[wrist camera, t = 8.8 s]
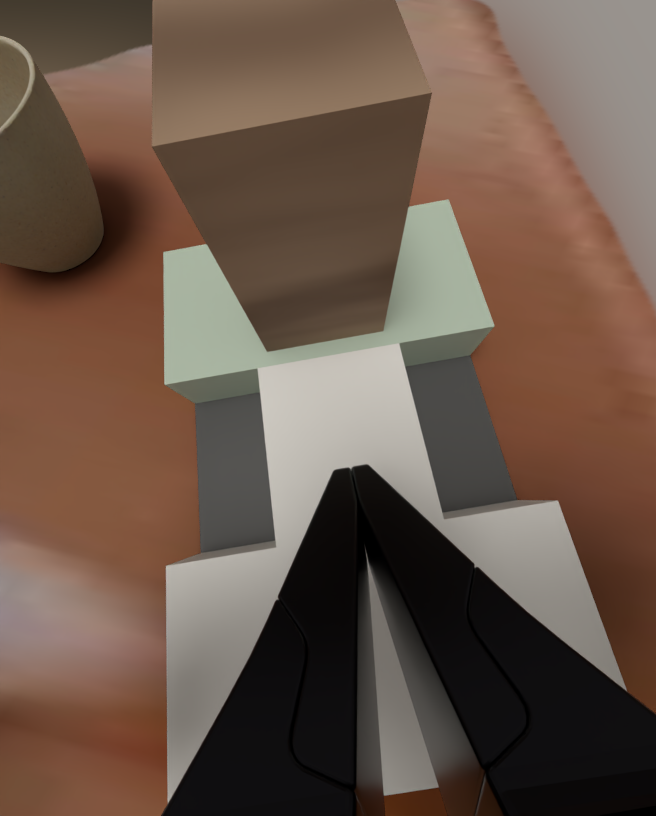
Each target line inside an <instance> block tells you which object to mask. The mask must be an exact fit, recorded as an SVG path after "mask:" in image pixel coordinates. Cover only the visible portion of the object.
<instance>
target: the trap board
mask: <svg viewBox="0 0 656 816" xmlns="http://www.w3.org/2000/svg"><path fill="white" fill-rule="evenodd" d="M493 328H494V323H493V321H492V318H491V315H490V312H489V310H488V307H487V304H486V301H485V299H484V296H483V293H482V290H481V287H480V285H479V282H478V279H477V276H476V274H475V271H474V268H473V265H472V263H471V260H470V257H469V254H468V252H467V249H466V246H465V243H464V241H463V238H462V235H461V232H460V230H459V227H458V224H457V221H456V219H455V216H454V213H453V210H452V208H451V205H450V202H449V200H443V201H438V202H432V203H427V204H421V205H416V206H411V207H408V212H407V217H406V222H405V227H404V232H403V237H402V241H401V246H400V251H399V256H398V261H397V266H396V271H395V276H394V281H393V286H392V291H391V295H390V300H389V305H388V310H387V315H386V320H385V325H384V330H383V331H382V332H376V333H371V334H365V335H359V336H354V337H348V338H343V339H337V340H332V341H326V342H320V343H315V344H309V345H304V346H298V347H293V348H287V349H281V350H276V351H270V352H267V351H266V349H265V347H264V346H263V344H262V342H261V340H260V338H259V337H258V335H257V333H256V331H255V330H254V328H253V326H252V324H251V322H250V321H249V319H248V317H247V315H246V313H245V312H244V310H243V308H242V306H241V305H240V303H239V301H238V299H237V297H236V296H235V294H234V292H233V290H232V289H231V287H230V285H229V283H228V281H227V280H226V278H225V276H224V274H223V272H222V271H221V269H220V267H219V265H218V264H217V262H216V260H215V258H214V256H213V255H212V253H211V251H210V249H209V248H208V246H207V244H205V245H200V246H194V247H189V248H184V249H178V250H173V251H167V252H164V377H165V385H166V386H167V387H169V388H171V389H172V390H174V391H175V392H177V393H179V394H180V395H182V396H184V397H185V398H187V399H189V400H190V401H192V402H193V403H195V412H196V438H197V465H198V491H199V517H200V544H201V553H200V554H197V555H194V556H192V557H189V558H186V559H183V560H181V561H178V562H175V563H173V564H170V565H167V566H166V640H167V771H168V803H169V801H170V799H171V797H172V795H173V794H174V792H175V790H176V788H177V787H178V785H179V783H180V781H181V779H182V778H183V776H184V774H185V772H186V770H187V769H188V767H189V765H190V763H191V762H192V760H193V758H194V756H195V754H196V753H197V751H198V749H199V747H200V746H201V744H202V742H203V740H204V738H205V737H206V735H207V733H208V731H209V730H210V728H211V726H212V724H213V722H214V721H215V719H216V717H217V715H218V713H219V712H220V710H221V708H222V706H223V705H224V703H225V701H226V699H227V697H228V696H229V694H230V692H231V690H232V688H233V686H234V684H235V683H236V681H237V679H238V677H239V675H240V673H241V671H242V669H243V668H244V666H245V664H246V662H247V660H248V658H249V656H250V654H251V652H252V650H253V648H254V646H255V644H256V642H257V640H258V638H259V635H260V633H261V631H262V629H263V627H264V625H265V623H266V621H267V618H268V616H269V614H270V612H271V609H272V607H273V605H274V602H275V601H276V600H279V599H278V594H279V592H280V589H281V587H282V585H283V583H284V580H285V578H286V576H287V574H288V571H289V569H290V567H291V565H292V562H293V560H294V558H295V556H296V553H297V551H298V549H299V547H300V544H301V542H302V540H303V537H304V535H305V533H306V531H307V528H308V526H309V524H310V522H311V519H312V517H313V515H314V513H315V510H316V508H317V506H318V504H319V501H320V499H321V497H322V495H323V492H324V490H325V488H326V486H327V483H328V481H329V479H330V476H331V474H332V472H333V471H334V470H335V469H340V468H346V467H349V468H350V469H351V468H352V467H353V466H357V465H363V464H368V465H370V466H371V467H372V468H373V469H374V470H375V471H376V472H377V473H378V474H379V475H380V476H381V477H382V478H383V479H385V480H386V481H387V482H388V483H389V484H390V485H391V486H392V487H393V488H394V489H395V490H396V491H397V492H398V493H399V494H401V495H402V496H403V497H404V498H405V499H406V500H407V501H408V502H409V503H410V504H411V505H412V506H413V507H414V508H416V509H417V510H418V511H419V512H420V513H421V514H422V515H423V516H424V517H425V518H426V519H427V520H428V521H429V522H430V523H432V524H433V525H434V526H435V527H436V528H437V529H438V530H439V531H440V532H441V533H442V534H443V535H444V536H445V537H447V538H448V539H449V540H450V541H451V542H452V543H453V544H454V545H455V546H456V547H457V548H458V549H459V550H460V551H461V552H463V553H464V554H465V555H466V556H467V557H468V558H469V559H470V560H471V561H472V562H473V563H474V564H475V567H479V568H480V569H481V570H482V571H483V572H484V573H485V574H486V575H487V576H488V577H489V578H491V579H492V580H493V581H494V582H495V583H496V584H497V585H498V586H499V587H500V588H501V589H502V590H504V591H505V592H506V593H507V594H508V595H509V596H510V597H511V598H513V599H514V600H515V601H516V602H517V603H518V604H519V605H520V606H522V607H523V608H524V609H525V610H526V611H527V612H528V613H530V614H531V615H532V616H533V617H535V618H536V619H537V620H538V621H539V622H541V623H542V624H543V625H544V626H546V627H547V628H548V629H549V630H550V631H552V632H553V633H554V634H555V635H557V636H558V637H559V638H560V639H562V640H563V641H564V642H565V643H566V644H568V645H569V646H570V647H572V648H573V649H574V650H575V651H577V652H578V653H579V654H580V655H582V656H583V657H584V658H585V659H587V660H588V661H589V662H591V663H592V664H593V665H594V666H596V667H597V668H598V669H599V670H601V671H602V672H603V673H605V674H606V675H607V676H608V677H610V678H611V679H612V680H613V681H615V682H616V683H617V684H618V685H620V686H621V687H622V688H624V689H625V690H626V687H625V684H624V681H623V679H622V676H621V673H620V670H619V668H618V665H617V662H616V659H615V657H614V654H613V651H612V648H611V646H610V643H609V640H608V637H607V635H606V632H605V629H604V626H603V624H602V621H601V618H600V615H599V613H598V610H597V607H596V604H595V602H594V599H593V596H592V593H591V591H590V588H589V585H588V582H587V579H586V577H585V574H584V571H583V568H582V566H581V563H580V560H579V557H578V555H577V552H576V549H575V546H574V544H573V541H572V538H571V535H570V533H569V530H568V527H567V524H566V522H565V519H564V516H563V513H562V511H561V508H560V505H559V502H558V501H553V500H517V498H516V494H515V491H514V488H513V485H512V482H511V479H510V476H509V473H508V470H507V467H506V464H505V461H504V458H503V455H502V452H501V448H500V445H499V442H498V439H497V436H496V433H495V430H494V427H493V424H492V421H491V418H490V415H489V412H488V409H487V406H486V403H485V399H484V396H483V393H482V390H481V387H480V384H479V381H478V378H477V375H476V372H475V369H474V366H473V363H472V360H471V357H470V355H471V354H472V352H473V351H474V350H475V349H476V348H477V346H478V345H479V344H480V343H481V342H482V341H483V339H484V338H485V337H486V336H487V335H488V333H489V332H490V331H491V330H492V329H493ZM365 550H366V549H365ZM366 557H367V554H366ZM367 564H368V574H369V588H370V603H371V618H372V632H373V647H374V661H375V676H376V690H377V705H378V720H379V734H380V749H381V763H382V778H383V792H384V796H385V795H392V794H399V793H405V792H412V791H418V790H425V789H431V788H438V787H439V786H438V783H437V780H436V777H435V773H434V770H433V767H432V764H431V761H430V758H429V754H428V751H427V748H426V745H425V742H424V739H423V735H422V732H421V729H420V726H419V723H418V719H417V716H416V713H415V710H414V707H413V704H412V700H411V697H410V694H409V691H408V688H407V685H406V681H405V678H404V675H403V672H402V669H401V666H400V662H399V659H398V656H397V653H396V650H395V646H394V643H393V640H392V637H391V634H390V631H389V627H388V624H387V621H386V618H385V615H384V612H383V608H382V605H381V602H380V599H379V596H378V593H377V589H376V586H375V583H374V580H373V577H372V573H371V570H370V567H369V563H368V559H367ZM626 691H627V690H626Z"/></svg>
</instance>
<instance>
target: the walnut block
mask: <svg viewBox="0 0 656 816" xmlns="http://www.w3.org/2000/svg"><path fill="white" fill-rule="evenodd" d="M152 25H153V27H152V28H153V29H152V30H153V32H152V148H153V149H154V151H155V153H156V155H157V157H158V158H159V160H160V162H161V164H162V166H163V167H164V169H165V171H166V173H167V174H168V176H169V178H170V180H171V182H172V183H173V185H174V187H175V189H176V190H177V192H178V194H179V196H180V198H181V199H182V201H183V203H184V205H185V207H186V208H187V210H188V212H189V214H190V215H191V217H192V219H193V221H194V223H195V224H196V226H197V228H198V230H199V231H200V233H201V235H202V237H203V239H204V240H205V242H206V244H207V246H208V248H209V249H210V251H211V253H212V255H213V256H214V258H215V260H216V262H217V264H218V265H219V267H220V269H221V271H222V272H223V274H224V276H225V278H226V280H227V281H228V283H229V285H230V287H231V289H232V290H233V292H234V294H235V296H236V297H237V299H238V301H239V303H240V305H241V306H242V308H243V310H244V312H245V313H246V315H247V317H248V319H249V321H250V322H251V324H252V326H253V328H254V330H255V331H256V333H257V335H258V337H259V338H260V340H261V342H262V344H263V346H264V347H265V349H266V351H267V352H270V351H276V350H281V349H287V348H293V347H298V346H304V345H309V344H315V343H320V342H326V341H332V340H337V339H343V338H348V337H354V336H359V335H365V334H371V333H376V332H382V331H383V330H384V325H385V320H386V315H387V310H388V305H389V300H390V295H391V291H392V286H393V281H394V276H395V271H396V266H397V261H398V256H399V251H400V246H401V241H402V237H403V232H404V227H405V222H406V217H407V212H408V207H409V202H410V197H411V192H412V188H413V183H414V178H415V173H416V168H417V163H418V158H419V153H420V148H421V143H422V139H423V134H424V129H425V124H426V119H427V114H428V109H429V104H430V99H431V94H432V92H431V89H430V87H429V84H428V82H427V79H426V77H425V74H424V72H423V69H422V67H421V64H420V62H419V59H418V57H417V54H416V52H415V49H414V47H413V44H412V42H411V39H410V36H409V34H408V31H407V29H406V26H405V24H404V21H403V19H402V16H401V14H400V11H399V9H398V6H397V4H396V1H395V0H153V22H152Z"/></svg>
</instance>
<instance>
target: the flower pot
mask: <svg viewBox="0 0 656 816" xmlns="http://www.w3.org/2000/svg"><path fill="white" fill-rule="evenodd" d="M103 234H104V227H103V220H102V214H101V209H100V205H99V200H98V196H97V193H96V189H95V186H94V183H93V180H92V177H91V174H90V171H89V168H88V165H87V163H86V160H85V157H84V155H83V153H82V150H81V148H80V145H79V143H78V141H77V139H76V136H75V134H74V132H73V130H72V128H71V126H70V124H69V122H68V120H67V118H66V116H65V114H64V112H63V110H62V108H61V106H60V104H59V103H58V101H57V99H56V97H55V95H54V93H53V92H52V90H51V88H50V86H49V85H48V83H47V81H46V80H45V78H44V76H43V75H42V73H41V71H40V70H39V68H38V66H37V65H36V63H35V62H34V60H33V58H32V57H31V55H30V54H29V52H28V51H27V50H26V49H25V48H24V47H23V46H21V45H20V44H18V43H17V42H15V41H13V40H11V39H9V38H6V37H3V36H0V263H4V264H8V265H12V266H17V267H22V268H27V269H32V270H38V271H44V272H61V271H65V270H68V269H71V268H74V267H76V266H78V265H80V264H81V263H83V262H85V261H86V260H87V259H88V258H90V257H91V256H92V255H93V254H94V252H95V251H96V250H97V248H98V247H99V245H100V243H101V241H102V238H103Z"/></svg>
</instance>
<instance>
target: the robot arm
mask: <svg viewBox="0 0 656 816" xmlns="http://www.w3.org/2000/svg"><path fill="white" fill-rule="evenodd" d="M365 549H366V550H365ZM366 554H367V557H366ZM367 559H368V563H369V567H370V570H371V573H372V577H373V580H374V583H375V586H376V589H377V593H378V596H379V599H380V602H381V605H382V608H383V612H384V615H385V618H386V621H387V624H388V627H389V631H390V634H391V637H392V640H393V643H394V646H395V650H396V653H397V656H398V659H399V662H400V666H401V669H402V672H403V675H404V678H405V681H406V685H407V688H408V691H409V694H410V697H411V700H412V704H413V707H414V710H415V713H416V716H417V719H418V723H419V726H420V729H421V732H422V735H423V739H424V742H425V745H426V748H427V751H428V754H429V758H430V761H431V764H432V767H433V770H434V773H435V777H436V780H437V783H438V786H439V789H440V792H441V796H442V799H443V802H444V805H445V808H446V812H447V815H448V816H656V714H655V713H654V712H653V711H651V710H650V709H649V708H648V707H646V706H645V705H644V704H643V703H641V702H640V701H639V700H638V699H636V698H635V697H634V696H632V695H631V694H630V693H629V692H627V691H626V690H625V689H624V688H622V687H621V686H620V685H618V684H617V683H616V682H615V681H613V680H612V679H611V678H610V677H608V676H607V675H606V674H605V673H603V672H602V671H601V670H599V669H598V668H597V667H596V666H594V665H593V664H592V663H591V662H589V661H588V660H587V659H585V658H584V657H583V656H582V655H580V654H579V653H578V652H577V651H575V650H574V649H573V648H572V647H570V646H569V645H568V644H566V643H565V642H564V641H563V640H562V639H560V638H559V637H558V636H557V635H555V634H554V633H553V632H552V631H550V630H549V629H548V628H547V627H546V626H544V625H543V624H542V623H541V622H539V621H538V620H537V619H536V618H535V617H533V616H532V615H531V614H530V613H528V612H527V611H526V610H525V609H524V608H523V607H522V606H520V605H519V604H518V603H517V602H516V601H515V600H514V599H513V598H511V597H510V596H509V595H508V594H507V593H506V592H505V591H504V590H502V589H501V588H500V587H499V586H498V585H497V584H496V583H495V582H494V581H493V580H492V579H491V578H489V577H488V576H487V575H486V574H485V573H484V572H483V571H482V570H481V569H480V568H479V567H475V564H474V563H473V562H472V561H471V560H470V559H469V558H468V557H467V556H466V555H465V554H464V553H463V552H461V551H460V550H459V549H458V548H457V547H456V546H455V545H454V544H453V543H452V542H451V541H450V540H449V539H448V538H447V537H445V536H444V535H443V534H442V533H441V532H440V531H439V530H438V529H437V528H436V527H435V526H434V525H433V524H432V523H430V522H429V521H428V520H427V519H426V518H425V517H424V516H423V515H422V514H421V513H420V512H419V511H418V510H417V509H416V508H414V507H413V506H412V505H411V504H410V503H409V502H408V501H407V500H406V499H405V498H404V497H403V496H402V495H401V494H399V493H398V492H397V491H396V490H395V489H394V488H393V487H392V486H391V485H390V484H389V483H388V482H387V481H386V480H385V479H383V478H382V477H381V476H380V475H379V474H378V473H377V472H376V471H375V470H374V469H373V468H372V467H371V466H370V465H368V464H363V465H357V466H353V467H352V468H351V469H350V468H349V467H346V468H340V469H335V470H334V471H333V472H332V474H331V476H330V479H329V481H328V483H327V486H326V488H325V490H324V492H323V495H322V497H321V499H320V501H319V504H318V506H317V508H316V510H315V513H314V515H313V517H312V519H311V522H310V524H309V526H308V528H307V531H306V533H305V535H304V537H303V540H302V542H301V544H300V547H299V549H298V551H297V553H296V556H295V558H294V560H293V562H292V565H291V567H290V569H289V571H288V574H287V576H286V578H285V580H284V583H283V585H282V587H281V589H280V592H279V594H278V599H279V600H276V601H275V602H274V605H273V607H272V609H271V612H270V614H269V616H268V618H267V621H266V623H265V625H264V627H263V629H262V631H261V633H260V635H259V638H258V640H257V642H256V644H255V646H254V648H253V650H252V652H251V654H250V656H249V658H248V660H247V662H246V664H245V666H244V668H243V669H242V671H241V673H240V675H239V677H238V679H237V681H236V683H235V684H234V686H233V688H232V690H231V692H230V694H229V696H228V697H227V699H226V701H225V703H224V705H223V706H222V708H221V710H220V712H219V713H218V715H217V717H216V719H215V721H214V722H213V724H212V726H211V728H210V730H209V731H208V733H207V735H206V737H205V738H204V740H203V742H202V744H201V746H200V747H199V749H198V751H197V753H196V754H195V756H194V758H193V760H192V762H191V763H190V765H189V767H188V769H187V770H186V772H185V774H184V776H183V778H182V779H181V781H180V783H179V785H178V787H177V788H176V790H175V792H174V794H173V795H172V797H171V799H170V801H169V803H168V804H167V806H166V808H165V810H164V811H163V813H162V815H161V816H385V807H384V792H383V778H382V763H381V749H380V734H379V720H378V705H377V690H376V676H375V661H374V647H373V632H372V618H371V603H370V588H369V574H368V564H367Z"/></svg>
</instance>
